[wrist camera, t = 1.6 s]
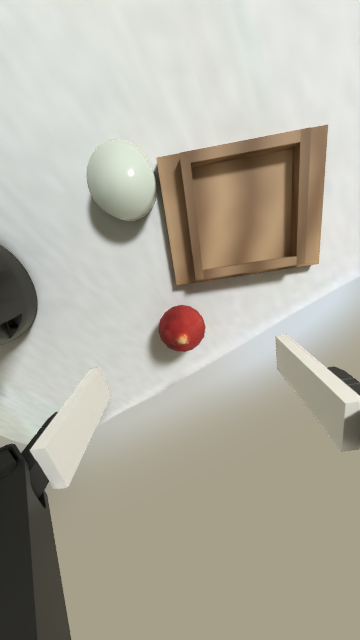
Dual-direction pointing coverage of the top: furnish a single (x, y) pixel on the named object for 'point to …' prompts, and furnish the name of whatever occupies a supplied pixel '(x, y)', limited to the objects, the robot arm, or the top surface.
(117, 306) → the top surface
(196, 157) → the tray
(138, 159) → the pale green dome
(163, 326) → the onion
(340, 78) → the top surface
